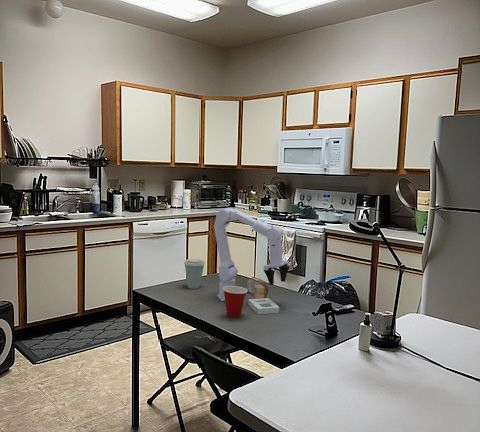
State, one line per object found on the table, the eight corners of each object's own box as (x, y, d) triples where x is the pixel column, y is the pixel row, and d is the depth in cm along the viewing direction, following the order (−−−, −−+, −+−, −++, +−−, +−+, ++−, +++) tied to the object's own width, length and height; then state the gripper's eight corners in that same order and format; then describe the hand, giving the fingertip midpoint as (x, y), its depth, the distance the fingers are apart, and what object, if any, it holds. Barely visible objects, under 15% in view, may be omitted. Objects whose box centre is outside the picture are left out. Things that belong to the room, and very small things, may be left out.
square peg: (253, 299, 213) (253, 285, 212) (261, 299, 214) (261, 285, 213) (256, 302, 209) (256, 287, 208) (264, 301, 210) (264, 287, 209)
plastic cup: (249, 319, 185) (249, 291, 183) (223, 320, 183) (224, 292, 181) (244, 311, 195) (245, 284, 194) (220, 311, 193) (221, 285, 192)
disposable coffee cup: (184, 284, 236) (184, 257, 234) (204, 284, 237) (204, 257, 235) (183, 290, 225) (184, 261, 224) (204, 290, 227) (205, 261, 225)
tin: (268, 298, 215) (268, 281, 214) (263, 299, 213) (263, 282, 212) (250, 291, 227) (250, 275, 226) (245, 291, 226) (245, 275, 225)
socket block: (248, 304, 204) (248, 299, 204) (268, 303, 207) (268, 298, 207) (257, 314, 191) (258, 308, 191) (279, 312, 194) (279, 307, 194)
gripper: (270, 256, 193) (272, 287, 194) (293, 252, 203) (294, 281, 204) (259, 255, 199) (261, 285, 200) (282, 250, 208) (283, 279, 209)
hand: (277, 282), depth 202 cm, fingers open, 7 cm apart
